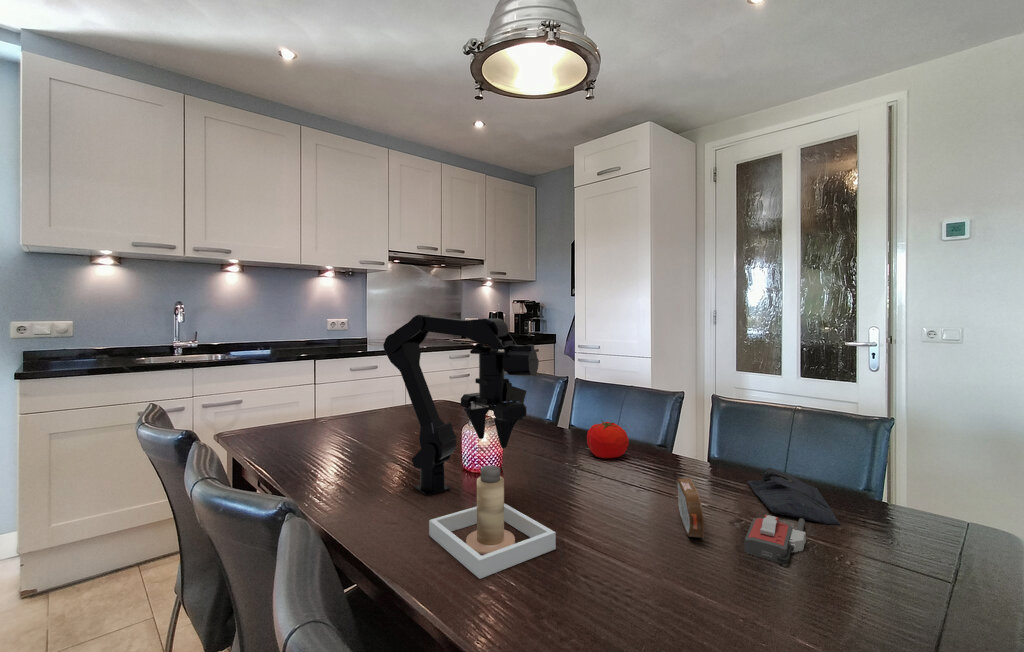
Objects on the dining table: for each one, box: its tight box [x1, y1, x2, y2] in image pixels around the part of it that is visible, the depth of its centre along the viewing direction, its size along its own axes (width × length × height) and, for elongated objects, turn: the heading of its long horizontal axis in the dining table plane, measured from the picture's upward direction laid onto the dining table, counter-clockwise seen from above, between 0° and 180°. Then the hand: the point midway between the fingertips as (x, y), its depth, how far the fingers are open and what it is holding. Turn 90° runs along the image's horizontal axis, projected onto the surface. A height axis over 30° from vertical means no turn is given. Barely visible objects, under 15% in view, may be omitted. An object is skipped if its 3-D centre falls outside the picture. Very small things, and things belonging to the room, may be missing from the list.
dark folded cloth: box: [746, 467, 841, 526], centre depth 104 cm, size 15×22×5 cm
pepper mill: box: [476, 465, 505, 545], centre depth 86 cm, size 5×5×13 cm
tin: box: [676, 477, 705, 539], centre depth 92 cm, size 15×3×8 cm, turn 168°
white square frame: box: [428, 502, 557, 580], centre depth 86 cm, size 18×16×3 cm
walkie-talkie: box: [743, 514, 807, 564], centre depth 86 cm, size 9×4×20 cm
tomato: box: [586, 419, 630, 459], centre depth 137 cm, size 11×13×10 cm
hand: (492, 443), depth 105 cm, fingers open, 9 cm apart
